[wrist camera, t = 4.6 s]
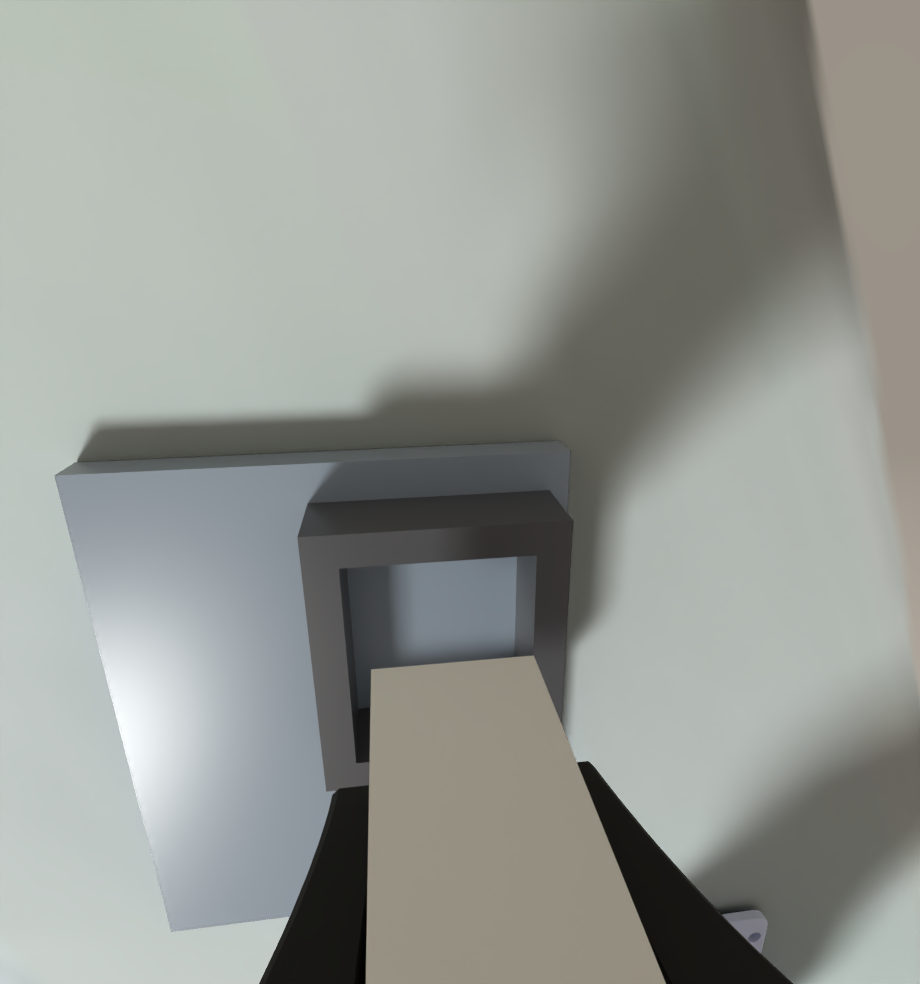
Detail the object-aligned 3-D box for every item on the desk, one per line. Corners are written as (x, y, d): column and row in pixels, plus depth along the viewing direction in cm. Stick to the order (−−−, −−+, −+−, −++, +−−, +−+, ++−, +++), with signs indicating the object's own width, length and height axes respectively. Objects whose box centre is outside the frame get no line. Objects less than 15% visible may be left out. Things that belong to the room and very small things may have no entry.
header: (539, 714, 18) (559, 766, 16) (331, 734, 17) (326, 791, 15) (549, 490, 15) (573, 520, 13) (307, 503, 15) (297, 537, 13)
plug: (527, 816, 13) (701, 1452, 6) (382, 833, 12) (389, 1532, 6) (534, 655, 11) (770, 1245, 4) (371, 669, 11) (360, 1331, 4)
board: (539, 855, 21) (551, 900, 20) (181, 900, 20) (164, 952, 18) (559, 440, 16) (578, 458, 14) (75, 462, 15) (40, 484, 13)
